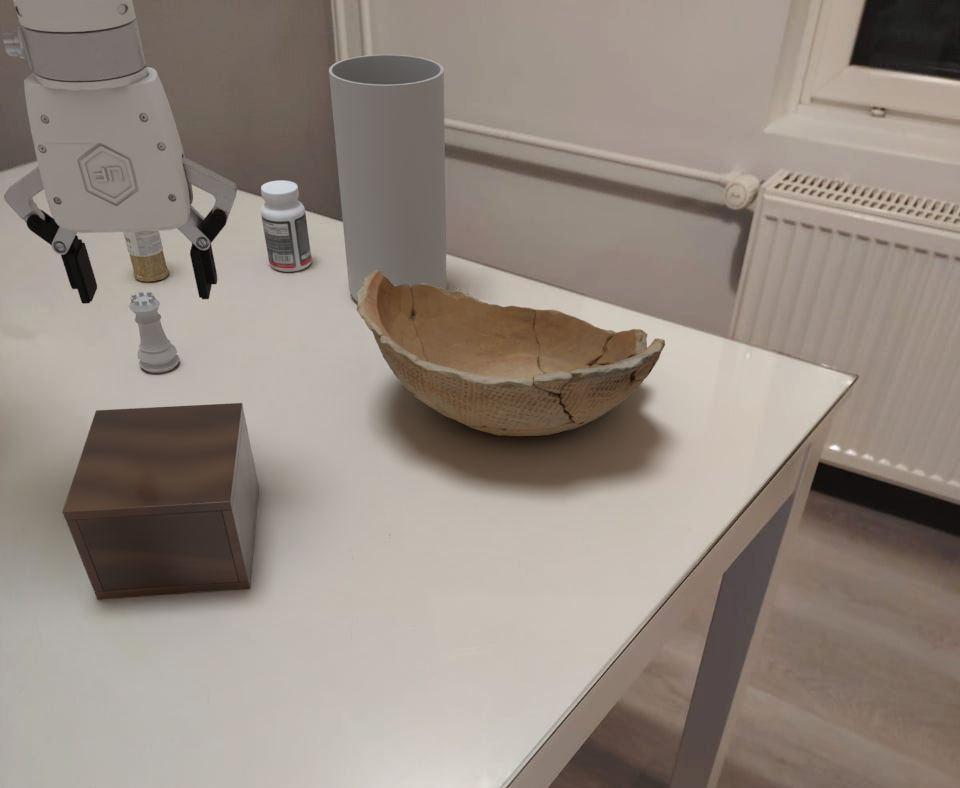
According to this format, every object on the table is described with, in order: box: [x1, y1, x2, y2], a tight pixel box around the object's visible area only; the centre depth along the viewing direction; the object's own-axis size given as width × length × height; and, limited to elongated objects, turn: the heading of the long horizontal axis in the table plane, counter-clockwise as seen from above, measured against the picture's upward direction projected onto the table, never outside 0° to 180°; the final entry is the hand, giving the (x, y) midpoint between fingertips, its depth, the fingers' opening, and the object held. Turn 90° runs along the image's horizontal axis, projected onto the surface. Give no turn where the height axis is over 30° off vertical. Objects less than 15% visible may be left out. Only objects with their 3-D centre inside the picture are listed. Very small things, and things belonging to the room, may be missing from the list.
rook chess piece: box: [128, 290, 180, 374], centre depth 99 cm, size 4×4×8 cm
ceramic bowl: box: [356, 270, 666, 437], centre depth 92 cm, size 30×27×15 cm
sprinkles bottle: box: [122, 231, 170, 283], centre depth 113 cm, size 5×5×14 cm
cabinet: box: [61, 402, 260, 600], centre depth 77 cm, size 15×13×9 cm
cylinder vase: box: [328, 54, 448, 303], centre depth 107 cm, size 12×12×25 cm
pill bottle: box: [260, 179, 312, 273], centre depth 118 cm, size 6×6×10 cm
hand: (148, 293), depth 74 cm, fingers open, 9 cm apart
